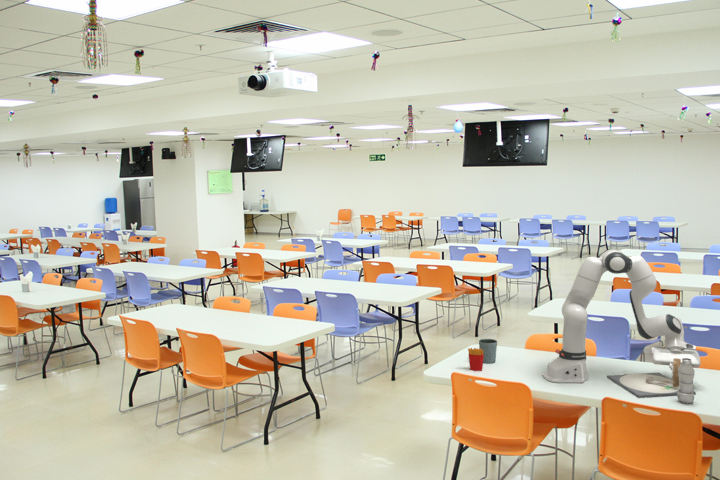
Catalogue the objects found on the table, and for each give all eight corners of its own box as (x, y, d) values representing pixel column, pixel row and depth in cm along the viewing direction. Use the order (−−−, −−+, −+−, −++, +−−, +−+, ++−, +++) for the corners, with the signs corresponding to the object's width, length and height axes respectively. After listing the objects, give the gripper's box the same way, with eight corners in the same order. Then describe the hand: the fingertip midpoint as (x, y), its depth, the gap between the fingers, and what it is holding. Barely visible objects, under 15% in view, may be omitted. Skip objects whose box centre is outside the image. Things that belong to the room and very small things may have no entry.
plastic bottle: (692, 406, 252) (693, 362, 250) (675, 402, 257) (676, 359, 255) (695, 401, 257) (697, 358, 255) (678, 398, 261) (680, 356, 259)
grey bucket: (476, 362, 321) (475, 341, 320) (483, 357, 329) (483, 337, 328) (493, 365, 315) (493, 344, 314) (499, 360, 323) (499, 339, 322)
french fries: (484, 369, 309) (484, 347, 307) (483, 371, 305) (483, 349, 304) (468, 367, 312) (468, 346, 310) (467, 370, 308) (467, 348, 307)
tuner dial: (638, 398, 263) (638, 394, 263) (607, 377, 291) (607, 374, 291) (695, 394, 265) (695, 391, 265) (659, 374, 293) (659, 371, 293)
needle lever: (644, 382, 278) (645, 354, 277) (647, 380, 280) (648, 352, 279) (678, 389, 267) (679, 360, 266) (680, 388, 269) (681, 359, 268)
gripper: (651, 342, 280) (653, 368, 272) (699, 346, 272) (702, 372, 264) (650, 349, 285) (652, 374, 277) (697, 352, 277) (700, 378, 269)
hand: (676, 373), depth 270 cm, fingers closed
